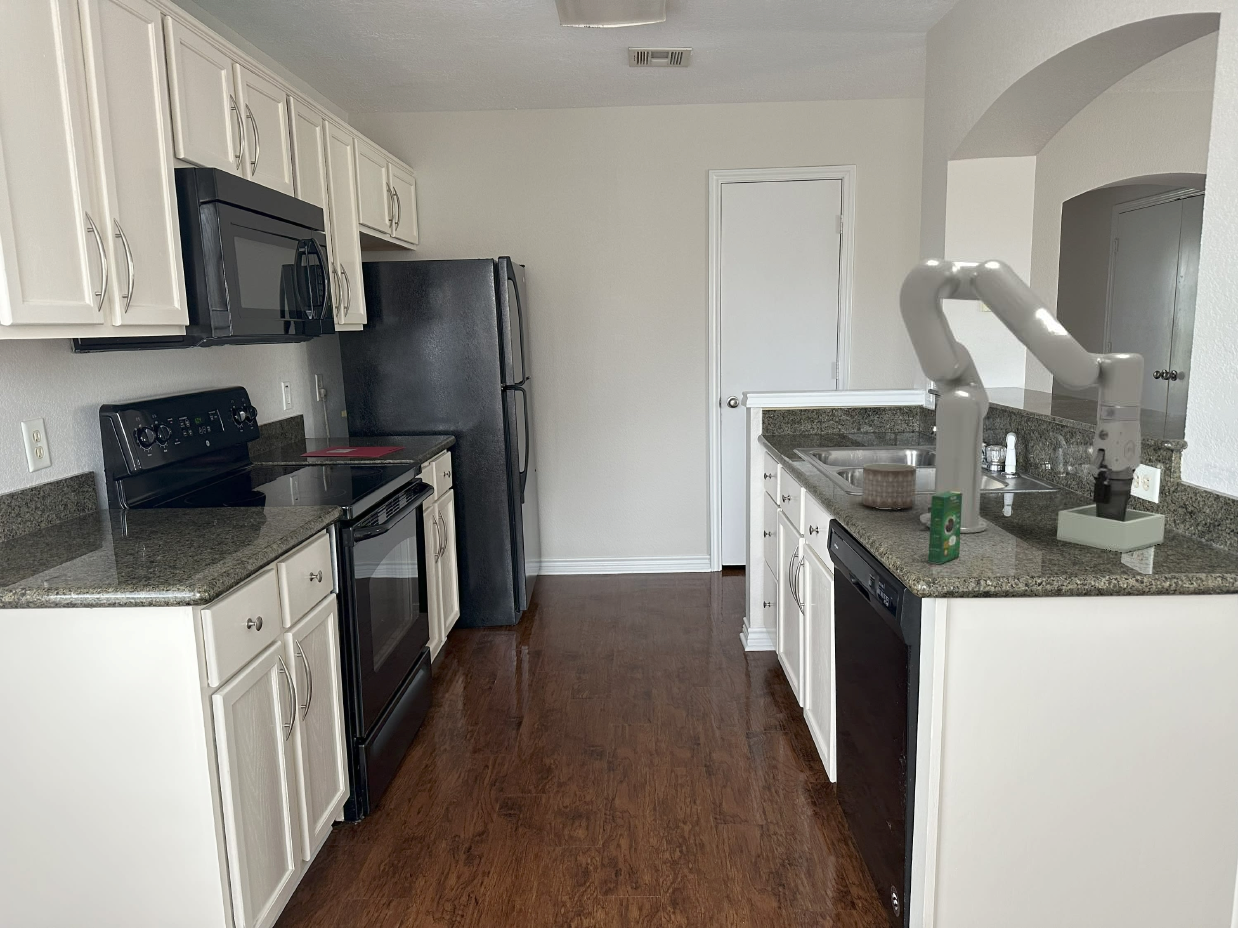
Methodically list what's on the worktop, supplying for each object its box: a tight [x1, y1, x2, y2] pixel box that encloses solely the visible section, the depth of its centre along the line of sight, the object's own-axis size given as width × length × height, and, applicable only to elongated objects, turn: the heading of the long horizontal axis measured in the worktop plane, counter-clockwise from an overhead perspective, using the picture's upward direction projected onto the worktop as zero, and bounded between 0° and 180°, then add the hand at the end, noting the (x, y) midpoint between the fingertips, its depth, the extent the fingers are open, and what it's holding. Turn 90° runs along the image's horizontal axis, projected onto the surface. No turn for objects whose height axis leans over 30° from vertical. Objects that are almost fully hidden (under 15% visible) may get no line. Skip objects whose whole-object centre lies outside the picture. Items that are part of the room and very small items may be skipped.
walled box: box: [1056, 503, 1166, 554], centre depth 177 cm, size 14×14×6 cm
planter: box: [861, 462, 917, 509], centre depth 215 cm, size 13×13×10 cm
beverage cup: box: [1095, 466, 1135, 522], centre depth 176 cm, size 7×7×20 cm
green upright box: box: [927, 491, 962, 565], centre depth 164 cm, size 8×3×13 cm, turn 134°
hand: (1111, 500), depth 177 cm, fingers closed on beverage cup, 6 cm apart
